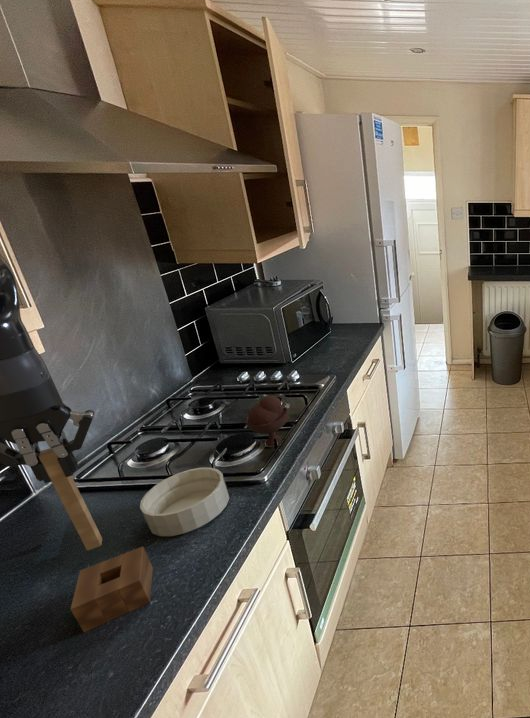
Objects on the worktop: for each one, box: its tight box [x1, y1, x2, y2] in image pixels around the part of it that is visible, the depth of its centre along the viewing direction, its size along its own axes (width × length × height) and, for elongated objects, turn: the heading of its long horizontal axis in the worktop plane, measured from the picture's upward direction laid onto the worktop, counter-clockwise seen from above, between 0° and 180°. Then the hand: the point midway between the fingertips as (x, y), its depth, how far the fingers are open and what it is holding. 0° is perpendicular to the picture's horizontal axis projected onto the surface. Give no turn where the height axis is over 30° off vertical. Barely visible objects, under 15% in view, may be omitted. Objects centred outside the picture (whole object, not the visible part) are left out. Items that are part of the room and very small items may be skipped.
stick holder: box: [70, 545, 154, 633], centre depth 77 cm, size 9×9×6 cm
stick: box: [38, 447, 103, 551], centre depth 69 cm, size 2×2×20 cm
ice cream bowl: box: [244, 395, 289, 446], centre depth 119 cm, size 11×11×15 cm
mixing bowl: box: [139, 467, 230, 537], centre depth 96 cm, size 15×15×6 cm
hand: (60, 476), depth 67 cm, fingers closed on stick, 2 cm apart
